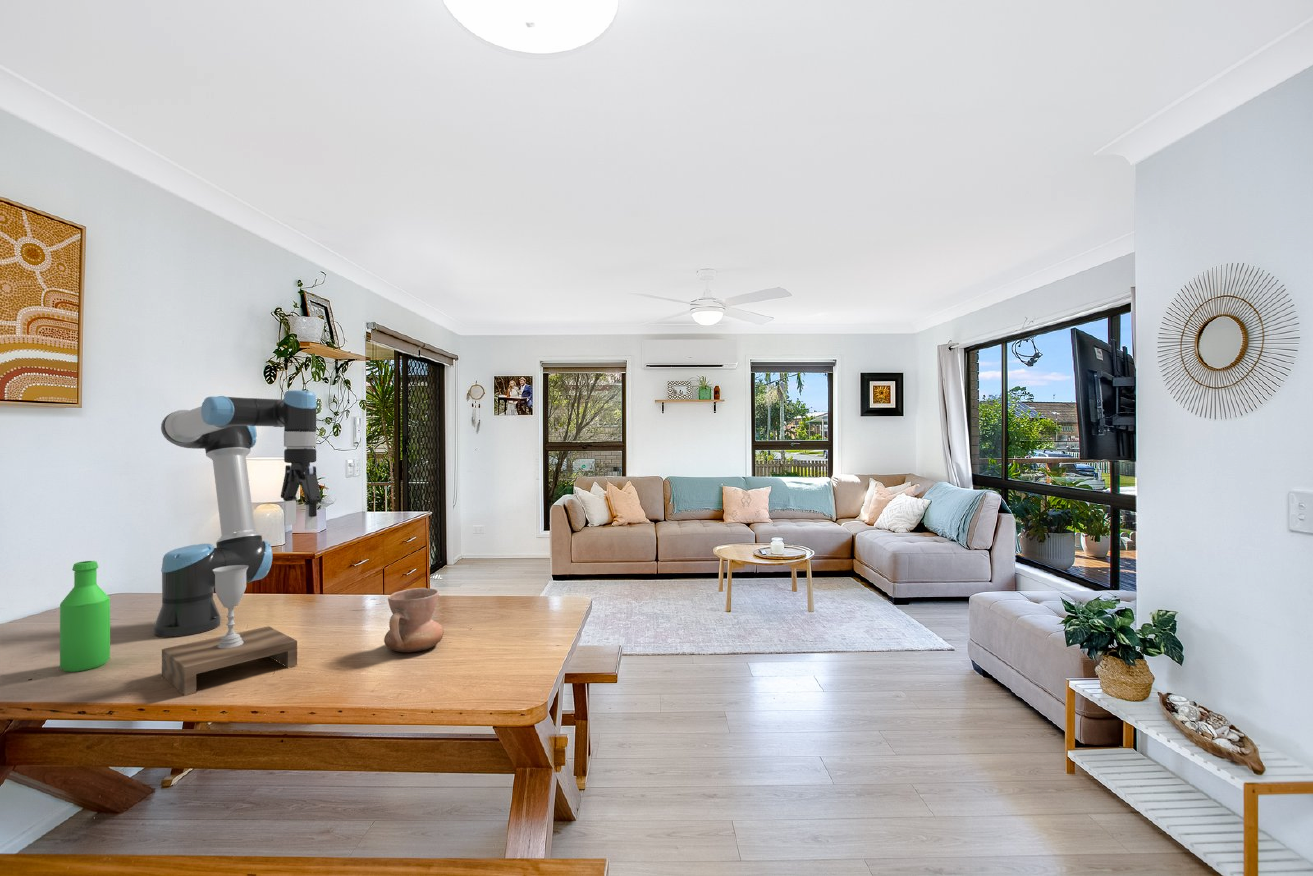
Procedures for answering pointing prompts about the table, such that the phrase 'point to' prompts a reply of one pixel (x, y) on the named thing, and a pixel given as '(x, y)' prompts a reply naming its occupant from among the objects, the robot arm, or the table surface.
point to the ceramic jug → (413, 620)
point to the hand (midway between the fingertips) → (300, 526)
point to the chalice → (230, 597)
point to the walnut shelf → (224, 655)
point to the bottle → (84, 622)
